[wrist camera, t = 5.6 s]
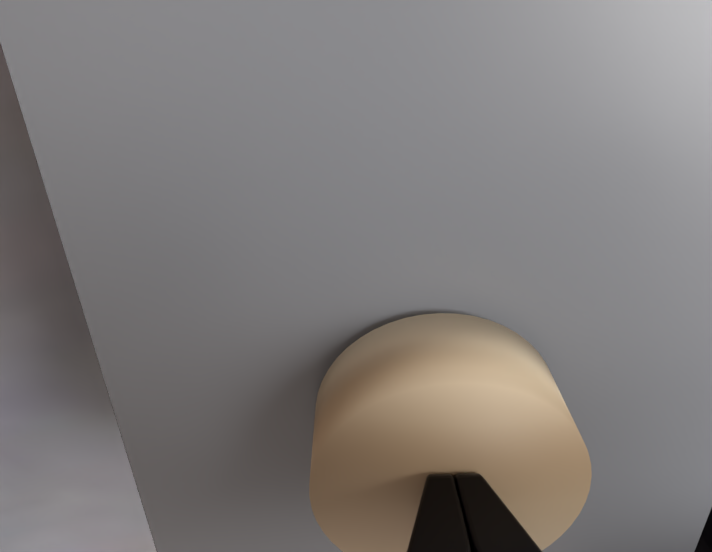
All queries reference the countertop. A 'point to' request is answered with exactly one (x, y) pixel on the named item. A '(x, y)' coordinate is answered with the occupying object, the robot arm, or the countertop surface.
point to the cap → (441, 431)
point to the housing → (379, 229)
